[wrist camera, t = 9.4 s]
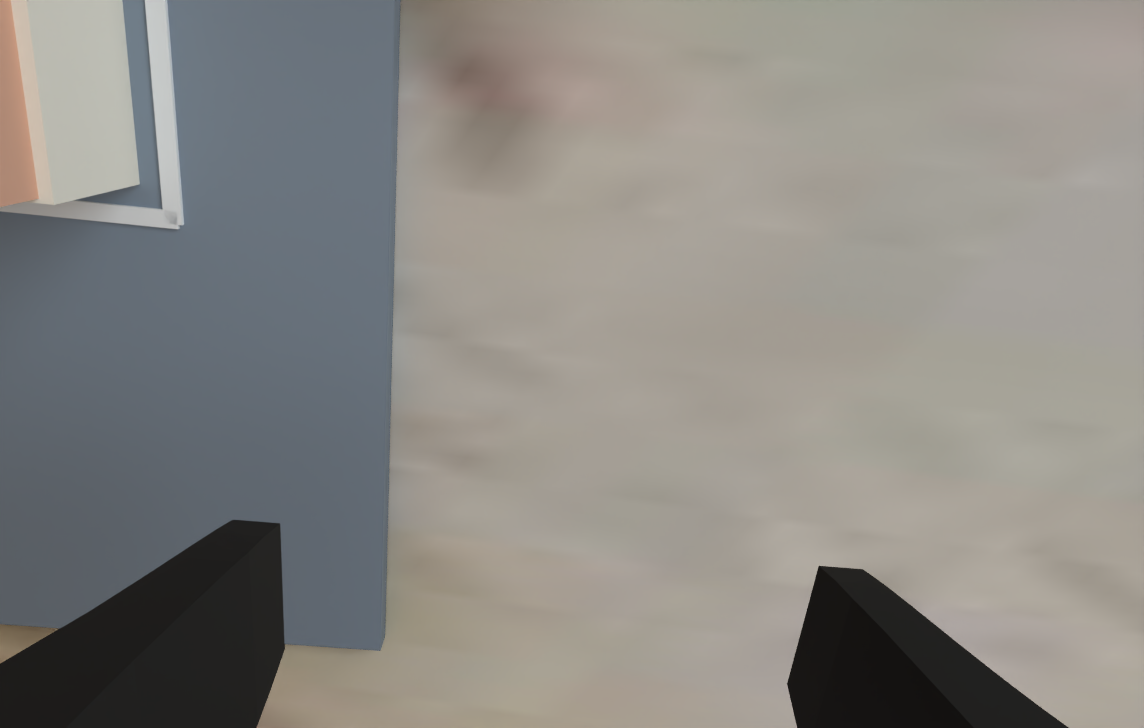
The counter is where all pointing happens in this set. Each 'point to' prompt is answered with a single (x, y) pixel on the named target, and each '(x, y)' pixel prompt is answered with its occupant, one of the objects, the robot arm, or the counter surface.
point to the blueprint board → (201, 301)
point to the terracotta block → (13, 120)
